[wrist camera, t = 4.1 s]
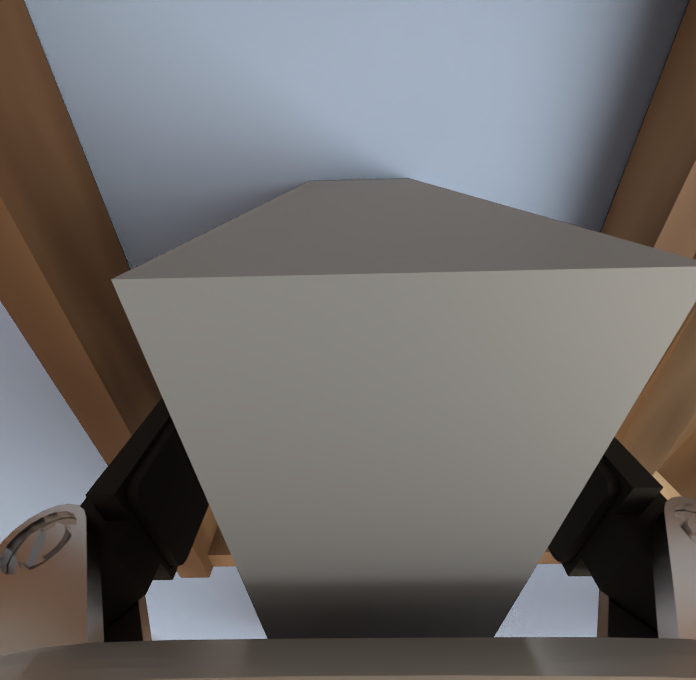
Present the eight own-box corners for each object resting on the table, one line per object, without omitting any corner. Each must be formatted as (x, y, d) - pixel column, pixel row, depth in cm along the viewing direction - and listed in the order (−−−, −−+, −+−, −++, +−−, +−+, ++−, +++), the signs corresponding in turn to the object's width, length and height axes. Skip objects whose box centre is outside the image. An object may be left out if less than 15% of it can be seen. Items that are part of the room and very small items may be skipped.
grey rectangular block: (407, 178, 9) (716, 264, 1) (389, 446, 15) (431, 739, 8) (309, 180, 9) (110, 280, 2) (330, 448, 15) (311, 739, 8)
